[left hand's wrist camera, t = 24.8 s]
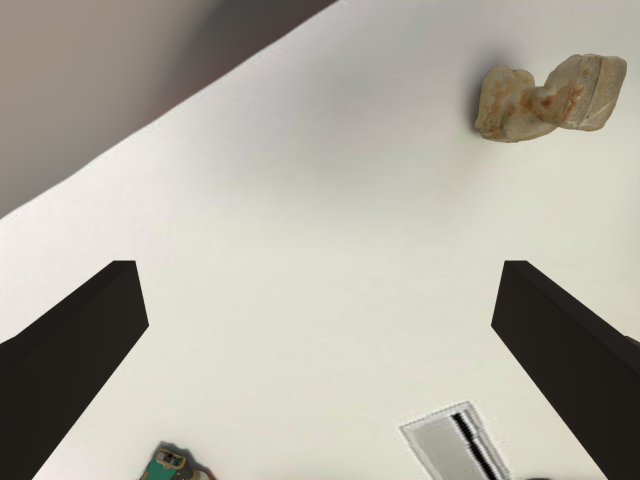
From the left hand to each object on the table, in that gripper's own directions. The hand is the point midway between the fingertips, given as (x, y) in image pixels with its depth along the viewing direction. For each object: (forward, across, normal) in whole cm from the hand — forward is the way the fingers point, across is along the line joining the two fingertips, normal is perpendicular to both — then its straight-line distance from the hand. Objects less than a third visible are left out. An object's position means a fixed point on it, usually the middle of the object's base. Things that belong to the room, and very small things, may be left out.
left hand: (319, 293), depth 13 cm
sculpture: (+30, +19, +6) cm, 36 cm away
